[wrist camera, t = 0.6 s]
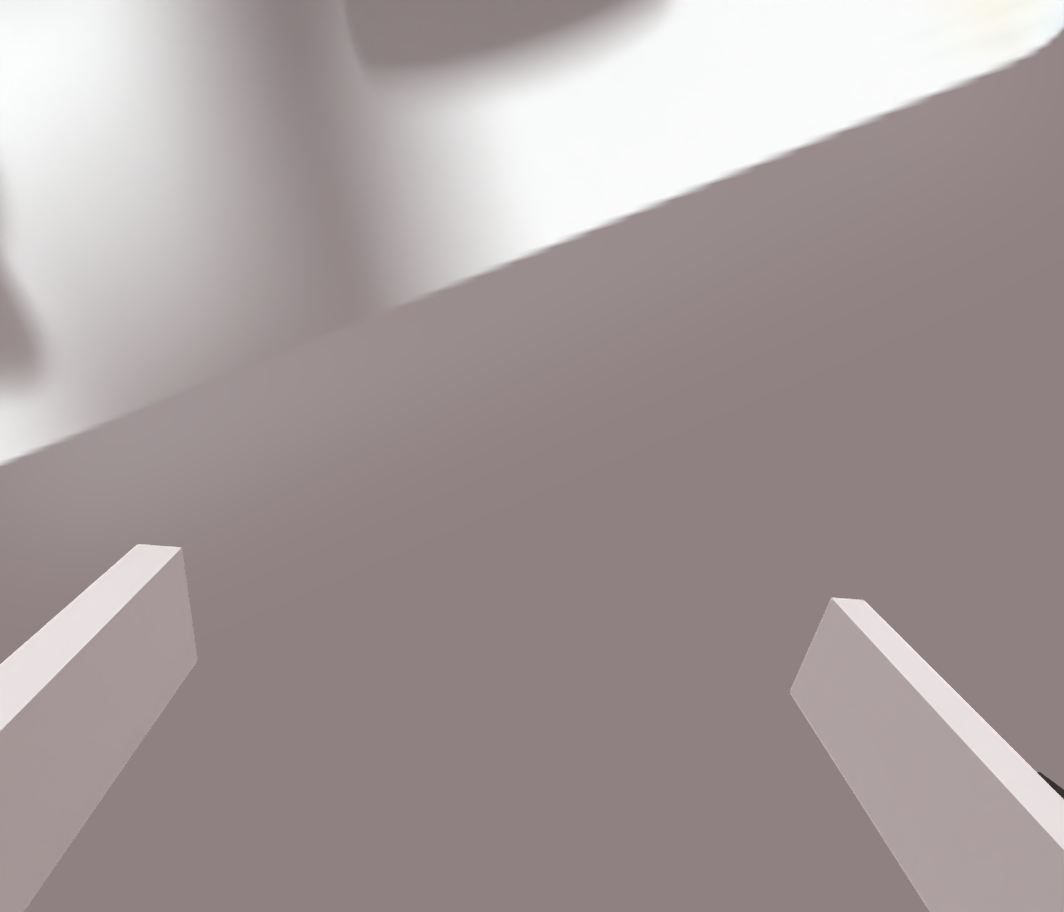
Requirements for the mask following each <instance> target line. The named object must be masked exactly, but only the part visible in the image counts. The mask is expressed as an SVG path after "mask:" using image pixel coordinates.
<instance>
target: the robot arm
mask: <svg viewBox="0 0 1064 912" xmlns="http://www.w3.org/2000/svg"><path fill="white" fill-rule="evenodd" d="M196 662H197V654H196V646H195V639H194V632H193V624H192V617H191V610H190V602H189V595H188V588H187V581H186V573H185V566H184V559H183V552H182V548H181V547H169V546H156V545H143V544H137V545H136V546H135V547H134V548H133V549H132V550H130V551H129V552H128V553H127V554H126V555H125V556H124V557H123V558H122V559H120V560H119V561H118V562H117V563H116V564H115V565H113V566H112V567H111V568H110V569H109V570H108V571H106V573H104V574H103V575H102V576H101V577H100V578H99V579H97V580H96V581H95V582H94V583H93V584H92V585H91V586H89V587H88V588H87V589H86V590H85V591H84V592H83V593H81V594H80V595H79V596H78V597H77V598H76V599H75V600H73V601H72V602H71V603H70V604H69V605H68V606H67V607H65V609H63V610H62V611H61V612H60V613H59V614H57V615H56V616H55V617H54V618H53V619H52V620H51V621H50V622H48V623H47V624H46V625H45V626H44V627H43V628H42V629H40V630H39V631H38V632H37V633H36V634H35V635H33V636H32V637H31V638H30V639H29V640H28V641H27V642H25V643H24V644H23V645H22V646H21V647H20V648H19V649H18V650H16V651H15V652H14V653H13V654H12V655H11V656H10V657H8V658H7V659H6V660H5V661H4V662H3V663H2V664H0V912H24V910H25V909H26V908H27V906H28V905H29V903H30V902H31V900H32V899H33V897H34V896H35V895H36V893H37V892H38V890H39V889H40V887H41V886H42V884H43V883H44V881H45V880H46V879H47V877H48V876H49V874H50V873H51V871H52V870H53V868H54V867H55V866H56V864H57V863H58V861H59V860H60V858H61V857H62V856H63V854H64V853H65V851H66V850H67V848H68V847H69V845H70V844H71V842H72V841H73V840H74V838H75V837H76V835H77V834H78V832H79V831H80V830H81V828H82V827H83V825H84V824H85V822H86V821H87V819H88V818H89V816H90V815H91V813H92V812H93V811H94V809H95V808H96V806H97V805H98V804H99V802H100V800H101V799H102V798H103V796H104V795H105V793H106V792H107V790H108V789H109V788H110V786H111V785H112V783H113V782H114V780H115V779H116V777H117V776H118V774H119V773H120V772H121V770H122V769H123V767H124V766H125V765H126V763H127V762H128V760H129V759H130V757H131V756H132V754H133V753H134V752H135V750H136V749H137V747H138V746H139V744H140V743H141V741H142V740H143V738H144V737H145V736H146V734H147V733H148V731H149V730H150V728H151V727H152V726H153V724H154V723H155V721H156V720H157V718H158V716H159V715H160V714H161V712H162V711H163V710H164V708H165V707H166V705H167V704H168V702H169V701H170V700H171V698H172V697H173V695H174V694H175V692H176V691H177V689H178V688H179V686H180V685H181V684H182V682H183V681H184V679H185V678H186V676H187V675H188V673H189V672H190V671H191V669H192V668H193V666H194V665H195V663H196ZM790 694H791V696H792V697H793V699H794V700H795V702H796V703H797V705H798V707H799V708H800V710H801V711H802V713H803V714H804V716H805V718H806V719H807V721H808V722H809V724H810V725H811V727H812V729H813V730H814V732H815V733H816V735H817V736H818V738H819V739H820V741H821V743H822V744H823V746H824V747H825V749H826V750H827V752H828V754H829V755H830V757H831V758H832V760H833V761H834V763H835V764H836V766H837V768H838V769H839V771H840V772H841V774H842V775H843V777H844V779H845V780H846V782H847V783H848V785H849V786H850V788H851V789H852V791H853V792H854V794H855V796H856V797H857V799H858V800H859V802H860V804H861V805H862V807H863V808H864V810H865V811H866V813H867V814H868V816H869V817H870V819H871V821H872V822H873V824H874V825H875V827H876V828H877V830H878V831H879V833H880V835H881V836H882V838H883V839H884V841H885V843H886V844H887V845H888V847H889V849H890V850H891V852H892V853H893V855H894V857H895V858H896V860H897V861H898V863H899V864H900V866H901V867H902V869H903V871H904V872H905V874H906V875H907V877H908V878H909V880H910V881H911V883H912V885H913V886H914V888H915V889H916V891H917V893H918V894H919V896H920V897H921V899H922V900H923V902H924V903H925V905H926V907H927V908H928V910H929V911H930V912H1064V790H1063V789H1062V788H1060V787H1059V786H1058V785H1057V784H1055V783H1054V782H1053V781H1051V780H1050V779H1048V778H1047V777H1046V776H1044V775H1043V774H1042V773H1040V772H1036V771H1035V770H1034V769H1033V768H1032V767H1031V766H1030V765H1029V764H1028V763H1027V762H1026V761H1024V759H1023V758H1022V757H1021V756H1020V755H1019V754H1018V753H1017V752H1015V750H1014V749H1013V748H1012V747H1011V746H1010V745H1008V743H1007V742H1006V741H1005V740H1004V739H1003V738H1002V737H1001V736H999V734H998V733H997V732H995V730H993V728H992V727H991V726H989V724H988V723H986V722H985V720H984V719H983V718H982V717H981V716H980V715H979V714H978V713H977V712H976V711H974V710H973V708H971V707H970V706H969V704H968V703H967V702H966V701H964V700H963V699H962V697H960V696H959V694H958V693H956V692H955V690H954V689H953V688H952V687H951V686H949V685H948V684H947V683H946V682H945V681H944V680H943V679H942V678H941V677H940V676H939V675H938V674H937V673H936V672H935V671H934V670H933V669H932V668H931V667H930V666H929V665H928V664H927V663H926V662H925V661H924V660H923V659H922V658H921V657H920V656H919V655H918V654H917V653H916V652H915V651H914V650H913V649H912V648H911V647H910V646H909V645H908V644H907V643H906V642H905V641H904V640H903V639H902V638H901V637H900V636H899V635H898V634H897V633H896V632H895V631H894V630H893V629H892V628H891V627H890V626H889V625H888V624H887V623H886V622H885V621H884V620H883V619H882V618H881V617H880V616H879V615H878V614H877V613H876V612H875V611H874V610H873V609H872V608H871V607H870V606H869V605H868V604H867V603H866V602H865V601H864V600H855V599H842V598H831V600H830V602H829V604H828V606H827V609H826V611H825V613H824V615H823V618H822V620H821V622H820V624H819V627H818V629H817V631H816V633H815V636H814V638H813V640H812V642H811V645H810V647H809V650H808V651H807V654H806V656H805V658H804V661H803V663H802V665H801V668H800V670H799V672H798V674H797V677H796V679H795V681H794V683H793V686H792V688H791V690H790Z"/></svg>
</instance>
